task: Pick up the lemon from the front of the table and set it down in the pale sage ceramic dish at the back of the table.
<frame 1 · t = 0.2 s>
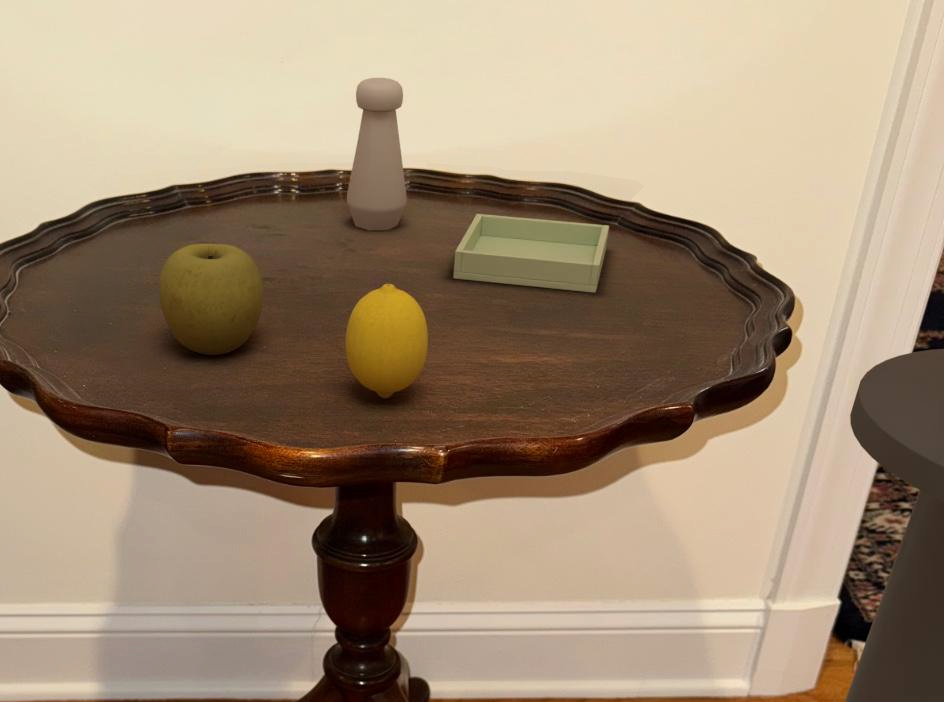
apple: (214, 348, 85), on the table
salt shaker: (375, 226, 110), on the table
dish: (531, 264, 101), on the table
lemon: (384, 400, 78), on the table
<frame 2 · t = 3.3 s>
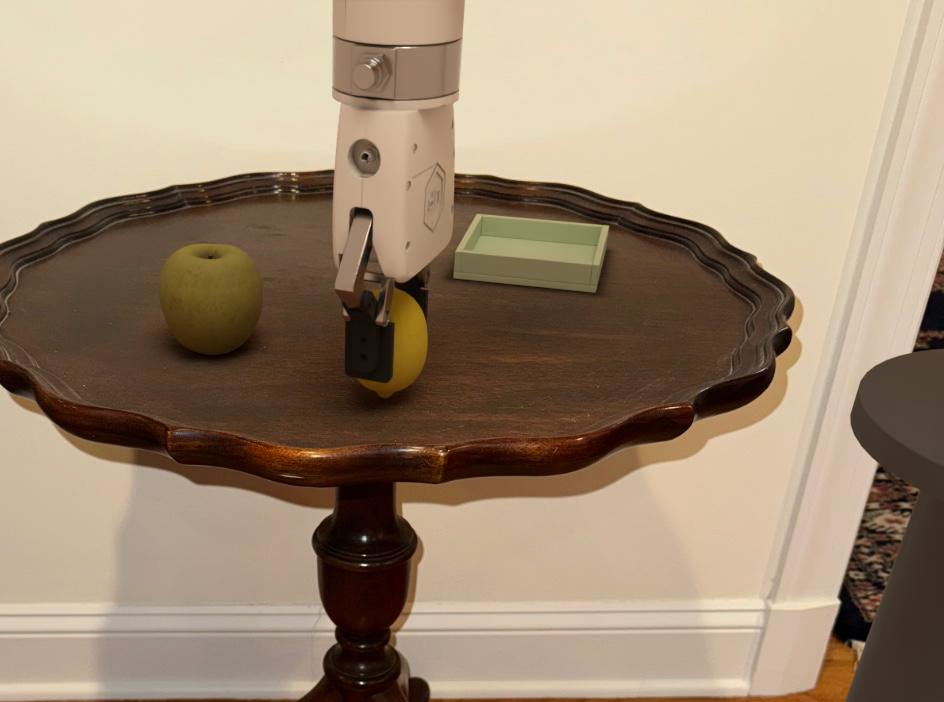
hand: (386, 357, 76), 3 cm above the table, tool pointing down, fingers closed on lemon, 5 cm apart
lemon: (384, 400, 78), on the table, touching gripper
everything else where it was.
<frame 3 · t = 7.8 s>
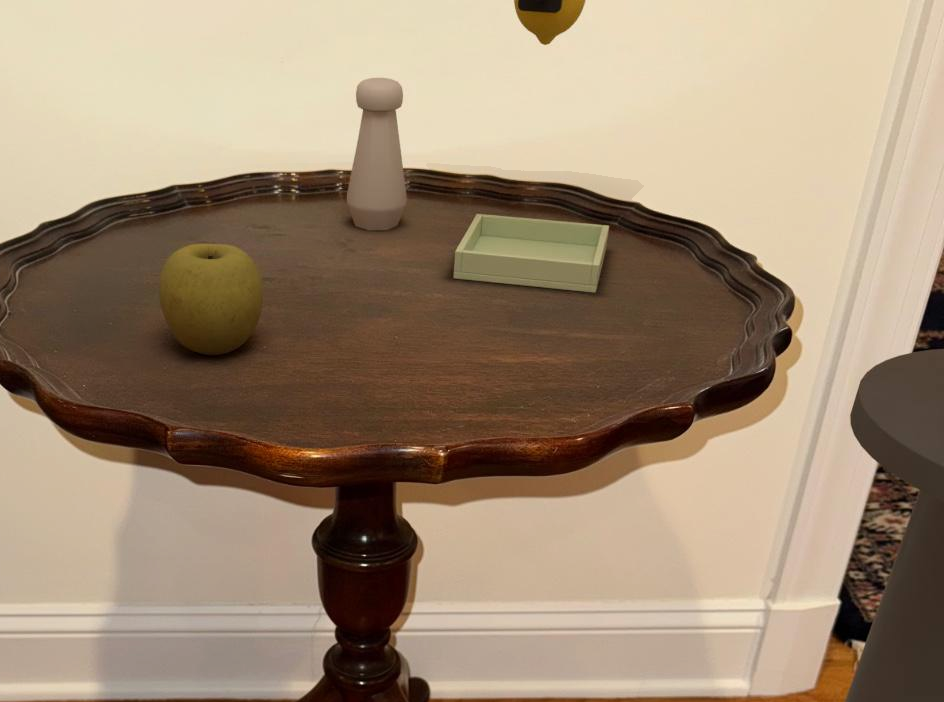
hand: (550, 3, 86), 21 cm above the table, tool pointing down, fingers closed on lemon, 5 cm apart
lemon: (544, 47, 88), point 18 cm above the table, touching gripper
everything else where it was.
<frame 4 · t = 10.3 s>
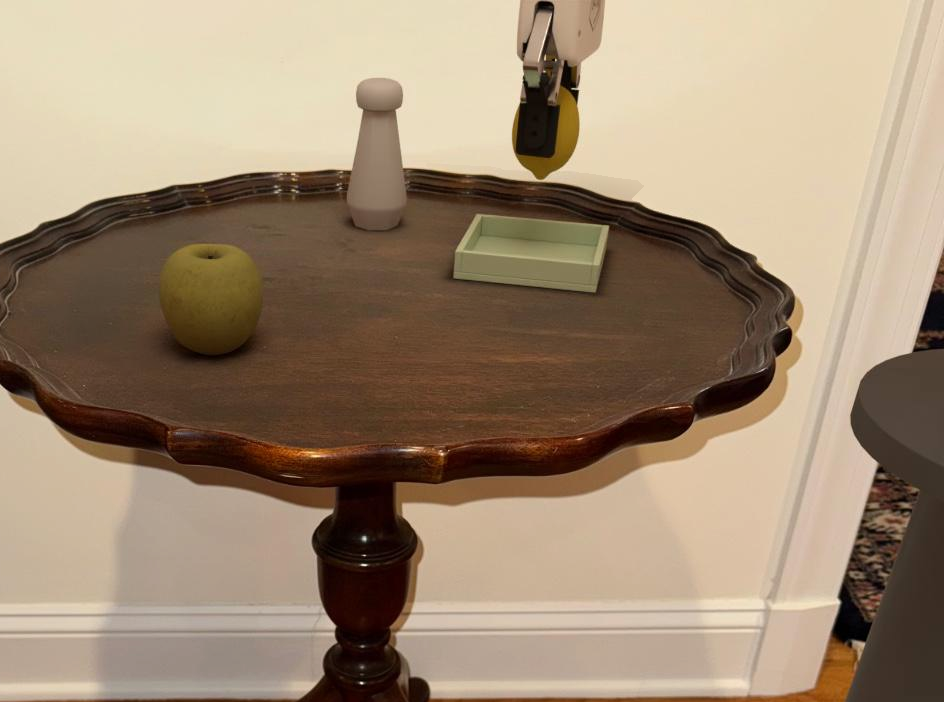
hand: (544, 144, 95), 10 cm above the table, tool pointing down, fingers closed on lemon, 5 cm apart
lemon: (539, 182, 96), point 7 cm above the table, touching gripper
everything else where it was.
when the fingers open (4 cm above the table, at t = 12.4 s): lemon stays where it is, resting on dish.
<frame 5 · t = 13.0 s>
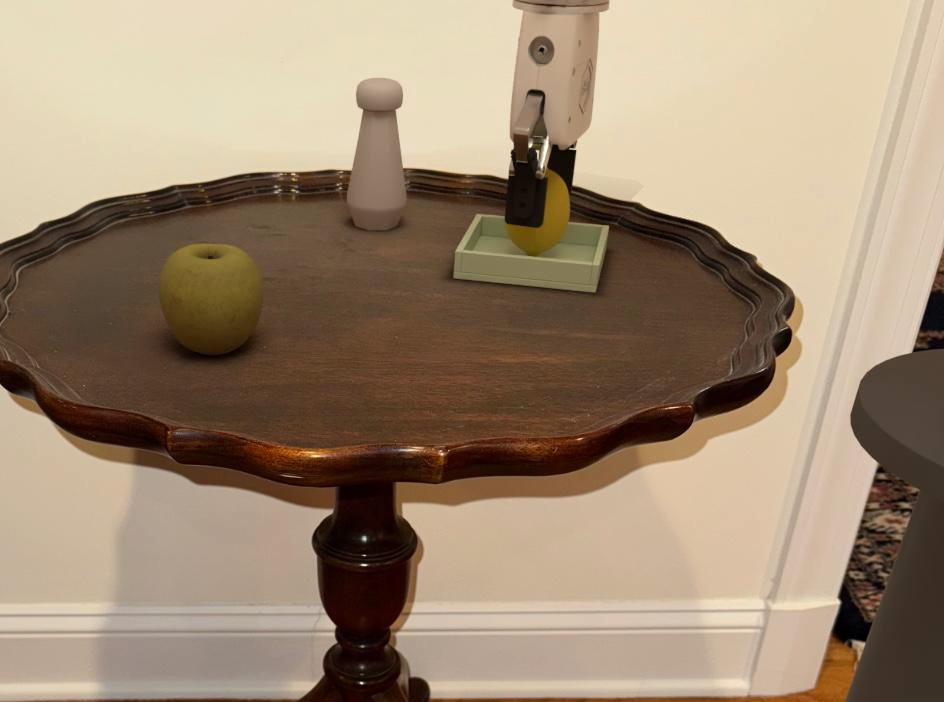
hand: (538, 209, 98), 5 cm above the table, tool pointing down, fingers open, 9 cm apart
lemon: (532, 260, 100), resting on dish
everything else where it was.
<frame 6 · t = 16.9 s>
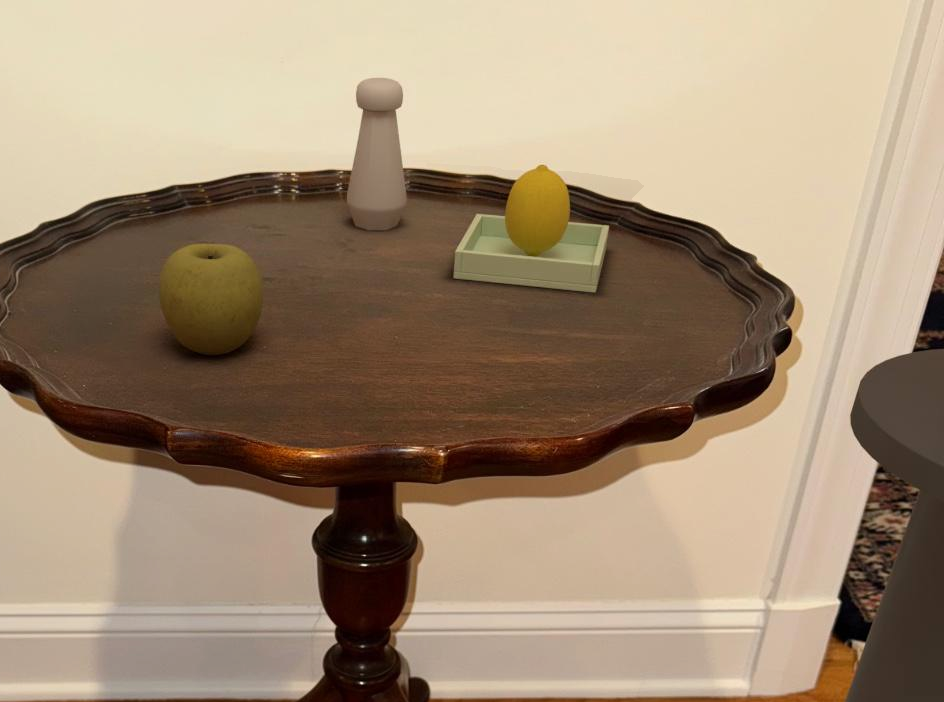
nothing on the table moved.
at the end: lemon inside the target area in the dish (0.0 cm from its centre), point 0.4 cm above the dish's base; the gripper is holding nothing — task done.
